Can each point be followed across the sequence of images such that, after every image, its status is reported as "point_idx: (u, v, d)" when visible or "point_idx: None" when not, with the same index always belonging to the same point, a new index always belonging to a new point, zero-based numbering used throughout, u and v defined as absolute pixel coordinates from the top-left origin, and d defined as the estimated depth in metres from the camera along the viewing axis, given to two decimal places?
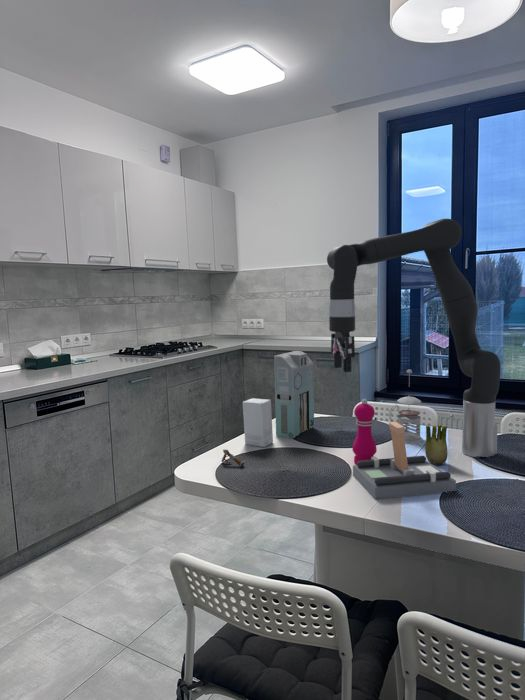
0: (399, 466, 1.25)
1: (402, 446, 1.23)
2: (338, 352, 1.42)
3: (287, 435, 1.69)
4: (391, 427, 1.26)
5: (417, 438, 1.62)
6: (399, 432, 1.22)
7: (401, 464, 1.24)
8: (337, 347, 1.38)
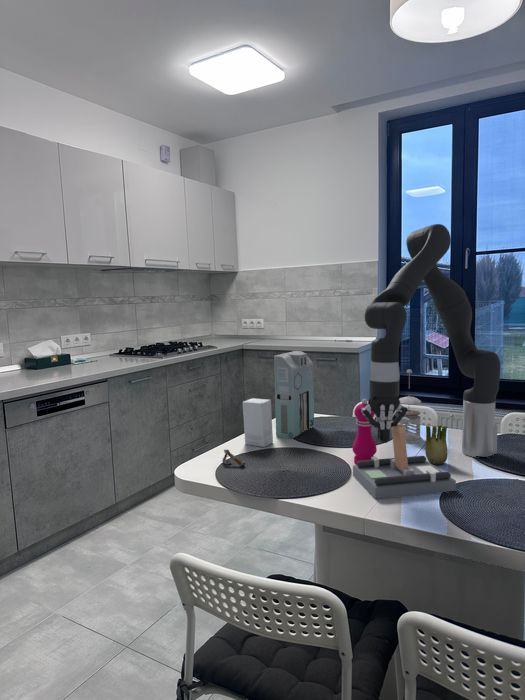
0: (400, 466, 1.25)
1: (403, 446, 1.23)
2: None
3: (287, 435, 1.69)
4: (392, 427, 1.26)
5: (417, 438, 1.62)
6: (400, 432, 1.22)
7: (401, 464, 1.24)
8: (386, 412, 1.23)
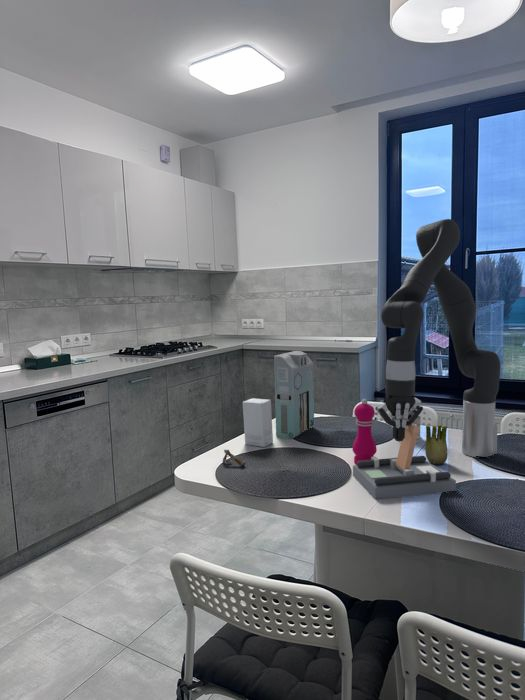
0: (401, 465, 1.25)
1: (411, 446, 1.23)
2: None
3: (287, 435, 1.69)
4: None
5: (417, 438, 1.62)
6: (414, 431, 1.23)
7: (404, 463, 1.24)
8: (402, 411, 1.23)
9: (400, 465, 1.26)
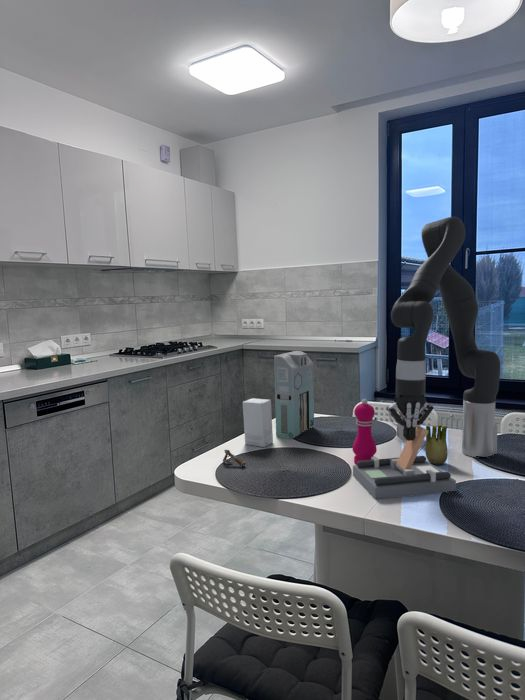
0: (402, 465, 1.25)
1: (417, 447, 1.23)
2: None
3: (287, 435, 1.69)
4: None
5: None
6: (422, 433, 1.23)
7: (405, 463, 1.24)
8: (412, 410, 1.24)
9: (401, 465, 1.26)
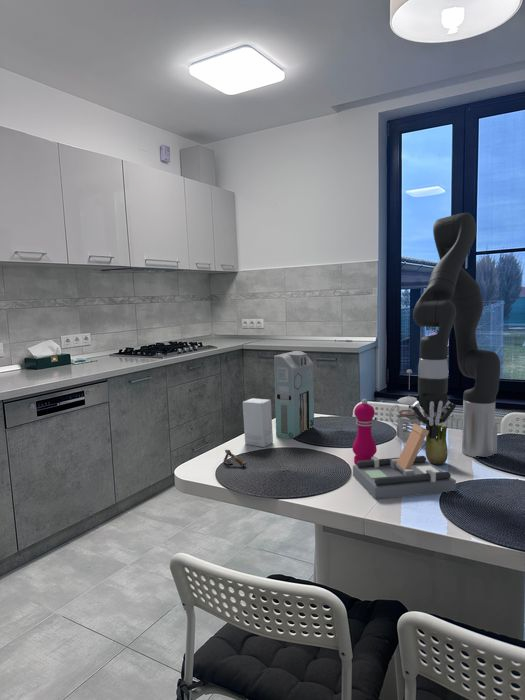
0: (402, 465, 1.25)
1: (417, 447, 1.23)
2: None
3: (287, 435, 1.69)
4: (414, 427, 1.27)
5: None
6: (422, 433, 1.23)
7: (405, 463, 1.24)
8: (435, 408, 1.25)
9: (401, 465, 1.26)
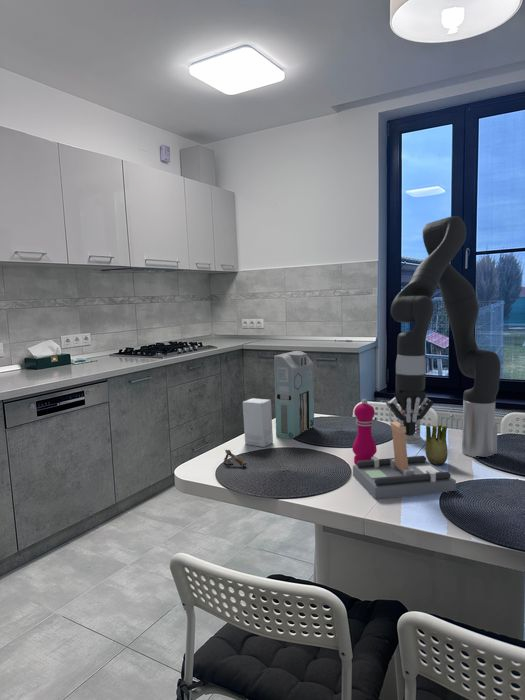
0: (400, 466, 1.25)
1: (403, 446, 1.23)
2: None
3: (287, 435, 1.69)
4: (392, 427, 1.26)
5: (417, 438, 1.62)
6: (400, 432, 1.22)
7: (401, 464, 1.24)
8: (412, 405, 1.23)
9: (399, 466, 1.26)
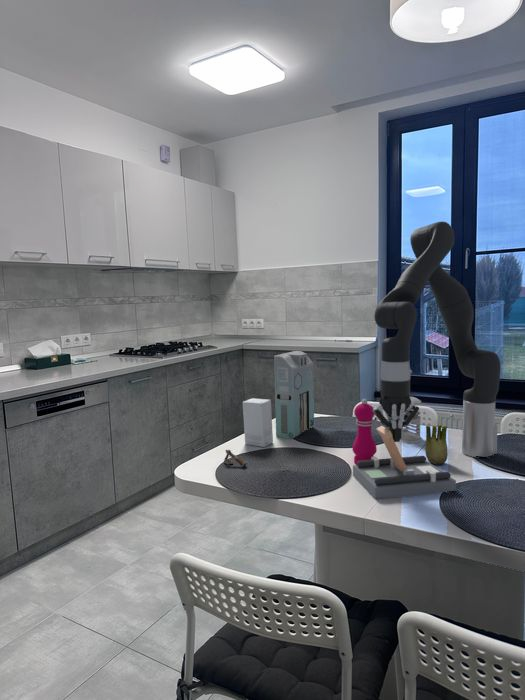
0: (398, 467, 1.25)
1: (394, 449, 1.22)
2: None
3: (287, 435, 1.69)
4: (379, 433, 1.25)
5: (417, 438, 1.62)
6: (387, 437, 1.22)
7: (399, 466, 1.24)
8: (398, 411, 1.23)
9: (398, 467, 1.26)
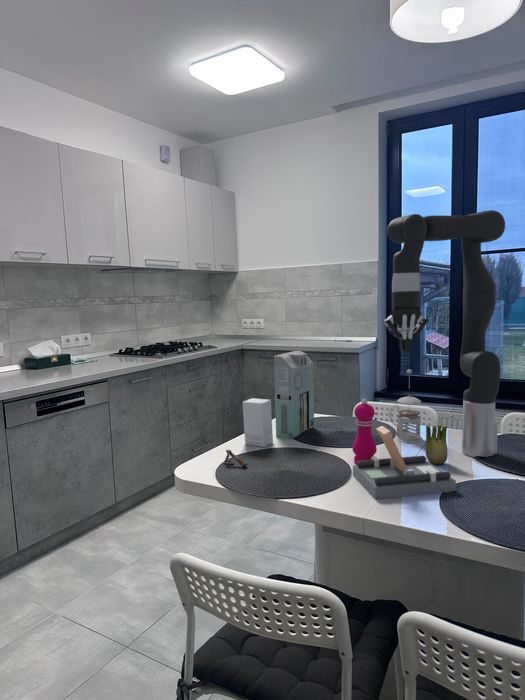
0: (398, 467, 1.25)
1: (394, 449, 1.22)
2: None
3: (287, 435, 1.69)
4: (379, 433, 1.25)
5: (417, 438, 1.62)
6: (387, 437, 1.22)
7: (399, 466, 1.24)
8: (408, 322, 1.28)
9: (398, 467, 1.26)
